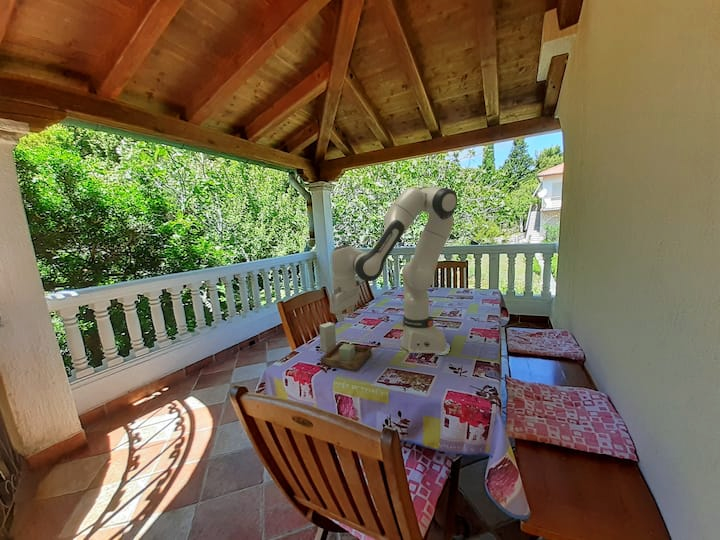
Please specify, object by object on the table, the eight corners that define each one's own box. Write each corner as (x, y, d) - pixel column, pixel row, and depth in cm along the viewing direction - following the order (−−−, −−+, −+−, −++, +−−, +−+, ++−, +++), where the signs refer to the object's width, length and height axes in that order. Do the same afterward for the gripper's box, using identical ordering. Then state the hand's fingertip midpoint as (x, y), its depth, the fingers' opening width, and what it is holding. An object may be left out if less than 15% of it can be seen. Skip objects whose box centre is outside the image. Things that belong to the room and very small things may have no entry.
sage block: (355, 356, 123) (354, 345, 122) (349, 361, 119) (349, 350, 118) (344, 354, 125) (344, 343, 125) (339, 359, 121) (338, 348, 120)
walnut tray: (371, 354, 126) (371, 347, 126) (356, 371, 112) (356, 364, 111) (339, 348, 133) (339, 342, 132) (321, 364, 118) (320, 357, 118)
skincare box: (330, 345, 136) (329, 321, 134) (336, 348, 133) (335, 323, 131) (320, 350, 132) (318, 325, 130) (326, 352, 129) (324, 327, 127)
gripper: (339, 291, 106) (341, 327, 109) (361, 280, 125) (363, 311, 127) (324, 290, 109) (326, 325, 111) (348, 279, 127) (350, 309, 130)
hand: (346, 317), depth 119 cm, fingers open, 8 cm apart
